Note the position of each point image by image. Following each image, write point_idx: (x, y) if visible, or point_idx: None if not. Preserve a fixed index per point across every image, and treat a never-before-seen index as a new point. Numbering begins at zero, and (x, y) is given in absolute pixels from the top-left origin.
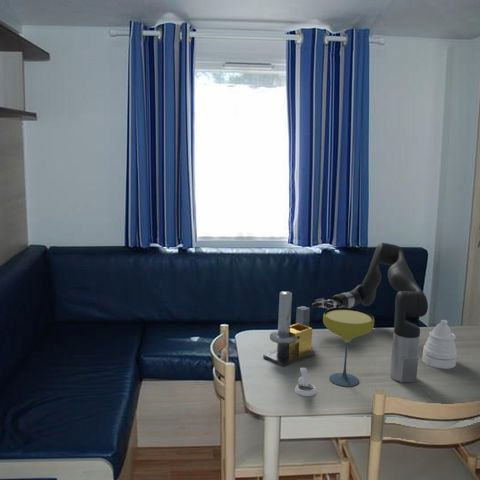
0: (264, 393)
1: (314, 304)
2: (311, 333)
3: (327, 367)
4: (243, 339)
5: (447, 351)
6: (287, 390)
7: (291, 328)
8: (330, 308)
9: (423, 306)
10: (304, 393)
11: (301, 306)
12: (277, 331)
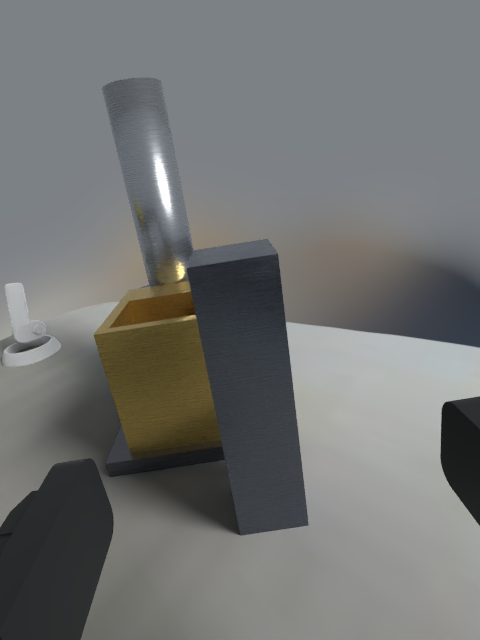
0: None
1: (467, 435)
2: (104, 361)
3: (4, 447)
4: (431, 346)
5: None
6: (73, 336)
7: (179, 291)
8: (24, 513)
9: None
10: (26, 342)
11: (269, 249)
12: None
